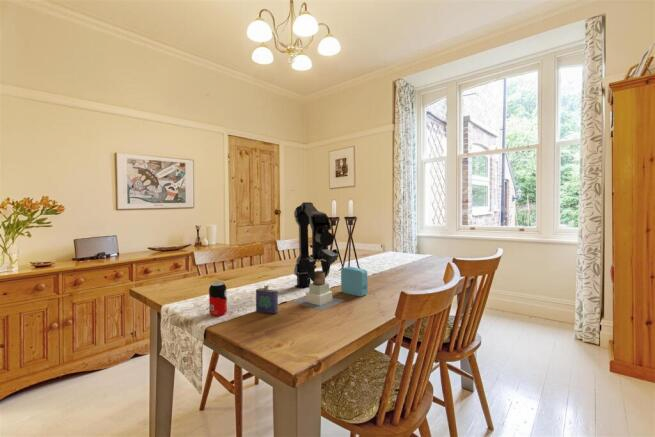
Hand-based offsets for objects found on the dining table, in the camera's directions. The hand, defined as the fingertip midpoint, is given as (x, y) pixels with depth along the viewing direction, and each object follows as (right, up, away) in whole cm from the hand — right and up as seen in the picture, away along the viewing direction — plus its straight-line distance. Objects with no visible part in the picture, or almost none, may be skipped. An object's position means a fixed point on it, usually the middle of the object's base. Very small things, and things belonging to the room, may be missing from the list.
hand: (319, 279), depth 130 cm
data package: (+16, -10, +12) cm, 22 cm away
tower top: (0, -6, 0) cm, 6 cm away
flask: (-20, -11, -11) cm, 26 cm away
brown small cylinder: (0, -2, 0) cm, 2 cm away
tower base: (0, -10, 0) cm, 10 cm away
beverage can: (-38, -11, -13) cm, 42 cm away
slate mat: (0, -10, 0) cm, 10 cm away
